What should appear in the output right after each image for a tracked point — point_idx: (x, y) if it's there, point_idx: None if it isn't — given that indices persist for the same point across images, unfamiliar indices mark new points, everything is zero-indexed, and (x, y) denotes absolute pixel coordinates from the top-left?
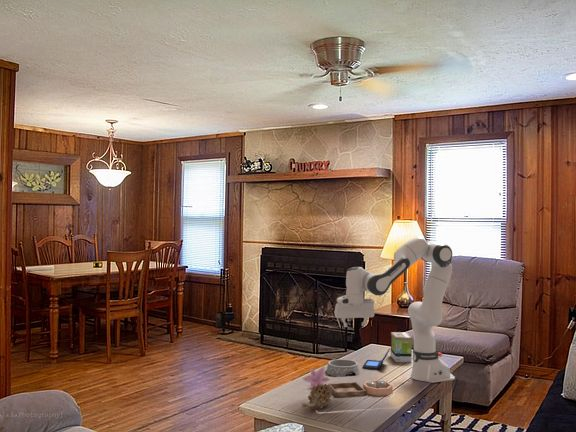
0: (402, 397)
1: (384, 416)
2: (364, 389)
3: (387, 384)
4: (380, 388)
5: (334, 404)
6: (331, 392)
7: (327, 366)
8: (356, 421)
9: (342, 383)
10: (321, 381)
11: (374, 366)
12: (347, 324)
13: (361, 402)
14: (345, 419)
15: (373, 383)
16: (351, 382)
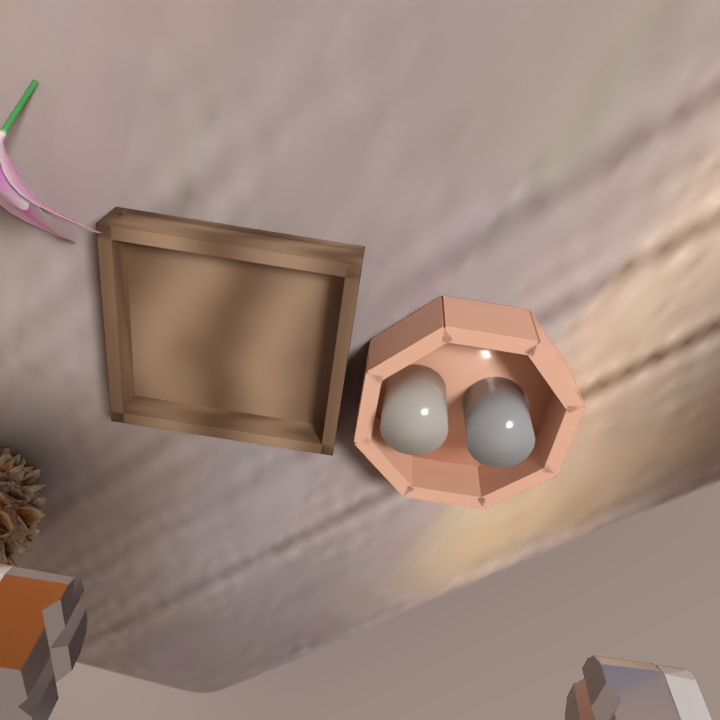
0: (554, 506)
1: (295, 643)
2: (335, 432)
3: (559, 414)
4: (431, 492)
5: (95, 465)
6: (40, 516)
7: None
8: (147, 641)
9: (225, 256)
10: (29, 201)
11: None
12: (48, 712)
13: (265, 489)
14: (104, 615)
15: (419, 444)
16: (311, 263)
